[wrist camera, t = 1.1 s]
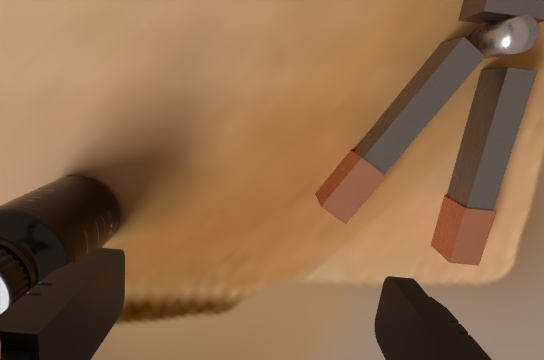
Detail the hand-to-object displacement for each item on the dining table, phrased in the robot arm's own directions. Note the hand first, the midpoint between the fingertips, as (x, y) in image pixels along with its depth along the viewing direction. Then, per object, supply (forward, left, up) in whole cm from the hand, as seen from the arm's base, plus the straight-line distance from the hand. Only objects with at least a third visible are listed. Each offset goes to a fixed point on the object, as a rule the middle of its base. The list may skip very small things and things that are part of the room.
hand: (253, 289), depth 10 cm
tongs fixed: (-4, +17, -19) cm, 26 cm away
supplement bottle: (+6, -15, -19) cm, 25 cm away
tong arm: (-4, +10, -19) cm, 22 cm away
